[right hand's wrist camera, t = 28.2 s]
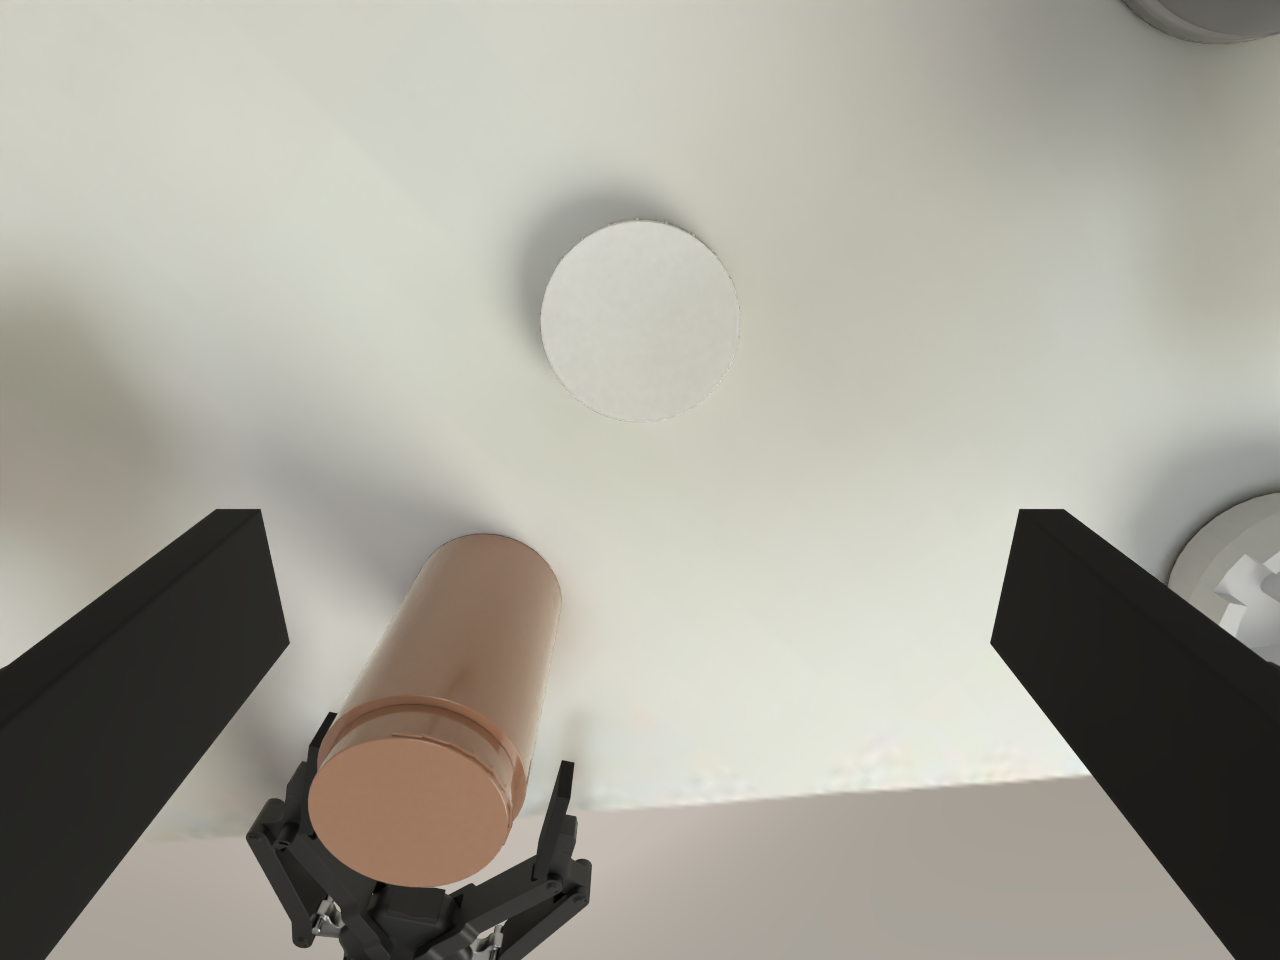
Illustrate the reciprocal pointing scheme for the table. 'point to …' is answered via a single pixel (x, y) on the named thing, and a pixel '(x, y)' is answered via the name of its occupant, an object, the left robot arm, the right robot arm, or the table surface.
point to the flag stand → (1237, 573)
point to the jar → (442, 719)
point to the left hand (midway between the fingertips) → (448, 753)
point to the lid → (640, 321)
